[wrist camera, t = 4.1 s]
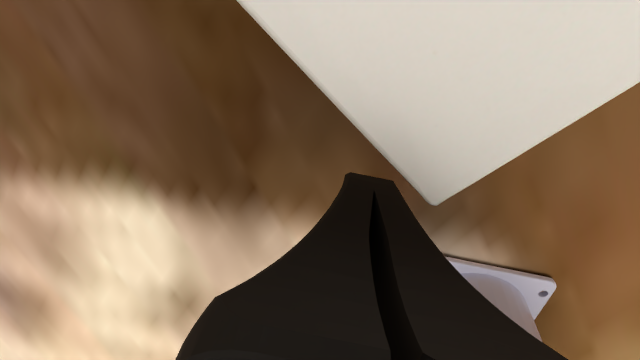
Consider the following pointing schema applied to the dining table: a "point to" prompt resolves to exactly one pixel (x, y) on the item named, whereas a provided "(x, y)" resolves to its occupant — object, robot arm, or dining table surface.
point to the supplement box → (458, 73)
